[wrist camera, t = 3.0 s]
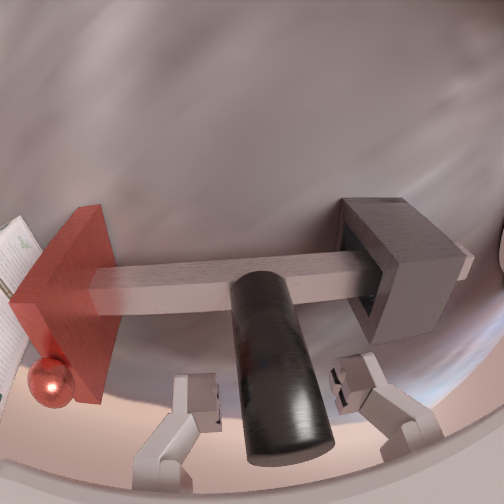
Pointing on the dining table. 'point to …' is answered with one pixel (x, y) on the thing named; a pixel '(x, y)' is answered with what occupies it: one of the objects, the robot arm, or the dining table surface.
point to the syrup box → (3, 288)
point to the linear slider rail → (185, 301)
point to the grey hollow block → (399, 266)
